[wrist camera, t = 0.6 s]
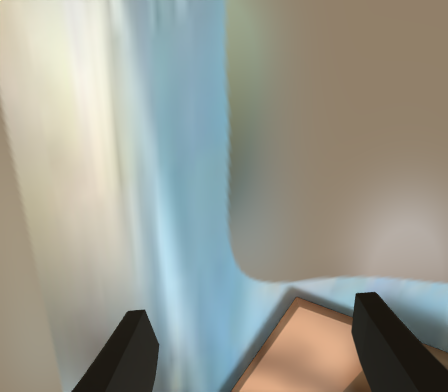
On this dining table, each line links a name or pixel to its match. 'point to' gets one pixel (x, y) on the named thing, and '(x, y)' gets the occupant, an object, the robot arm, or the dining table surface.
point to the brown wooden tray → (310, 354)
